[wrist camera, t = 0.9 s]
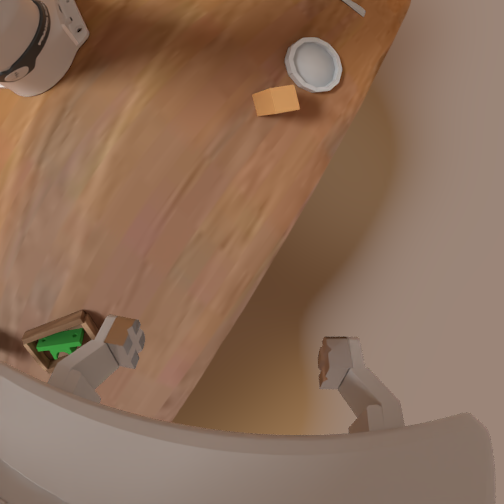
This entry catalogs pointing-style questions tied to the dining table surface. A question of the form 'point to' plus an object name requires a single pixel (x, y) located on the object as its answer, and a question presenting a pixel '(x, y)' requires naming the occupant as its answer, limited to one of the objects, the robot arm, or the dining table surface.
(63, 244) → the dining table surface
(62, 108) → the dining table surface
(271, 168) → the dining table surface
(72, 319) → the frame
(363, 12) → the fork
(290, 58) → the ring dish
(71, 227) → the dining table surface
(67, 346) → the pipe clamp
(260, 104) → the wooden toy brick
